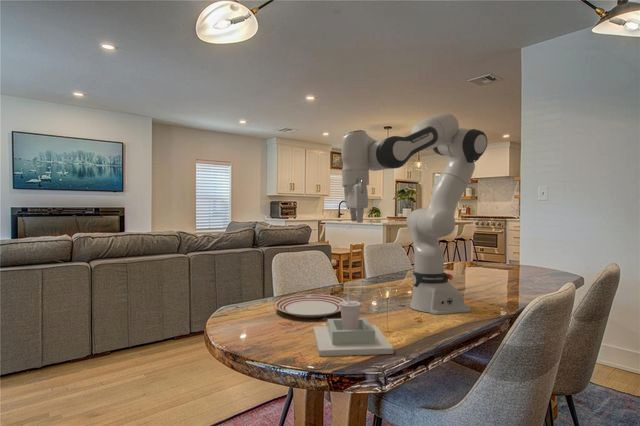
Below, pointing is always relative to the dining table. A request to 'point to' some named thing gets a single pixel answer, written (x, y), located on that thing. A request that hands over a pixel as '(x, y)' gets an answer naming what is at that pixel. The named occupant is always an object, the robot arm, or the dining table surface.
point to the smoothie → (350, 313)
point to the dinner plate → (309, 305)
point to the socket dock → (350, 339)
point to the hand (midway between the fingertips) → (356, 222)
